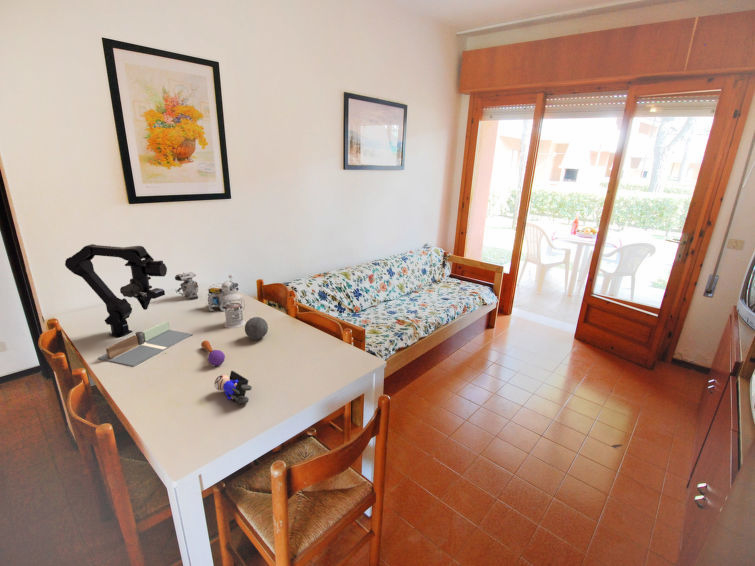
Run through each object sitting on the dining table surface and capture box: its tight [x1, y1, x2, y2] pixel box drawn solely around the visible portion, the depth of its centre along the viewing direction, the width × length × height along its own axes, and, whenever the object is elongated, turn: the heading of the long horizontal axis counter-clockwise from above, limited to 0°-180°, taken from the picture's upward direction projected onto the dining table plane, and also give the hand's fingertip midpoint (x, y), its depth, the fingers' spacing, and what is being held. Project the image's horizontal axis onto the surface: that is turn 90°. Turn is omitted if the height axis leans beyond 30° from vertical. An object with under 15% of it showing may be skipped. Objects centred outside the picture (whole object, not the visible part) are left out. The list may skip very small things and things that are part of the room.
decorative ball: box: [244, 316, 269, 340], centre depth 165 cm, size 10×10×10 cm
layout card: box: [97, 329, 193, 368], centre depth 156 cm, size 18×30×1 cm, turn 164°
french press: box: [224, 274, 247, 329], centre depth 178 cm, size 10×12×25 cm
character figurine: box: [214, 370, 252, 404], centre depth 123 cm, size 8×7×15 cm
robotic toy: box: [205, 280, 239, 312], centre depth 198 cm, size 13×17×15 cm
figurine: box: [174, 271, 199, 301], centre depth 209 cm, size 9×12×15 cm
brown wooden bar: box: [105, 331, 144, 359], centre depth 150 cm, size 3×16×5 cm, turn 164°
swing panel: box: [142, 320, 171, 341], centre depth 164 cm, size 2×13×4 cm, turn 164°
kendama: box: [200, 340, 226, 367], centre depth 148 cm, size 6×6×20 cm
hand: (145, 309), depth 163 cm, fingers closed
